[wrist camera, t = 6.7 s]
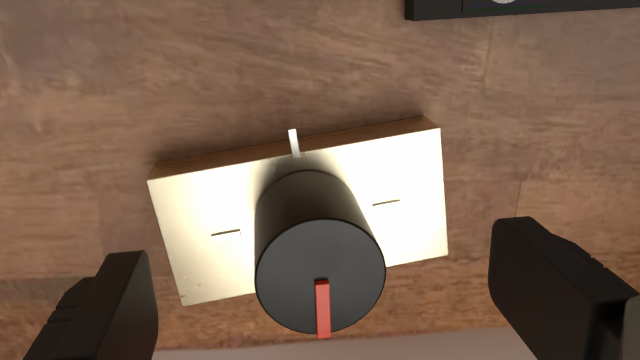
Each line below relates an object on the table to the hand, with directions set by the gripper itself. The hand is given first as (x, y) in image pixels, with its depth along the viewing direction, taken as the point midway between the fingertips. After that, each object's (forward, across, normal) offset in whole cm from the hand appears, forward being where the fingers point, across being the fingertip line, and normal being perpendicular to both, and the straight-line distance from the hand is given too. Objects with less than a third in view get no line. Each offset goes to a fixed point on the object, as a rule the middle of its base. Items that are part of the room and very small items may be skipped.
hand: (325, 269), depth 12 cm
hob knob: (+12, -1, +5) cm, 13 cm away
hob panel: (+15, -1, +4) cm, 16 cm away
